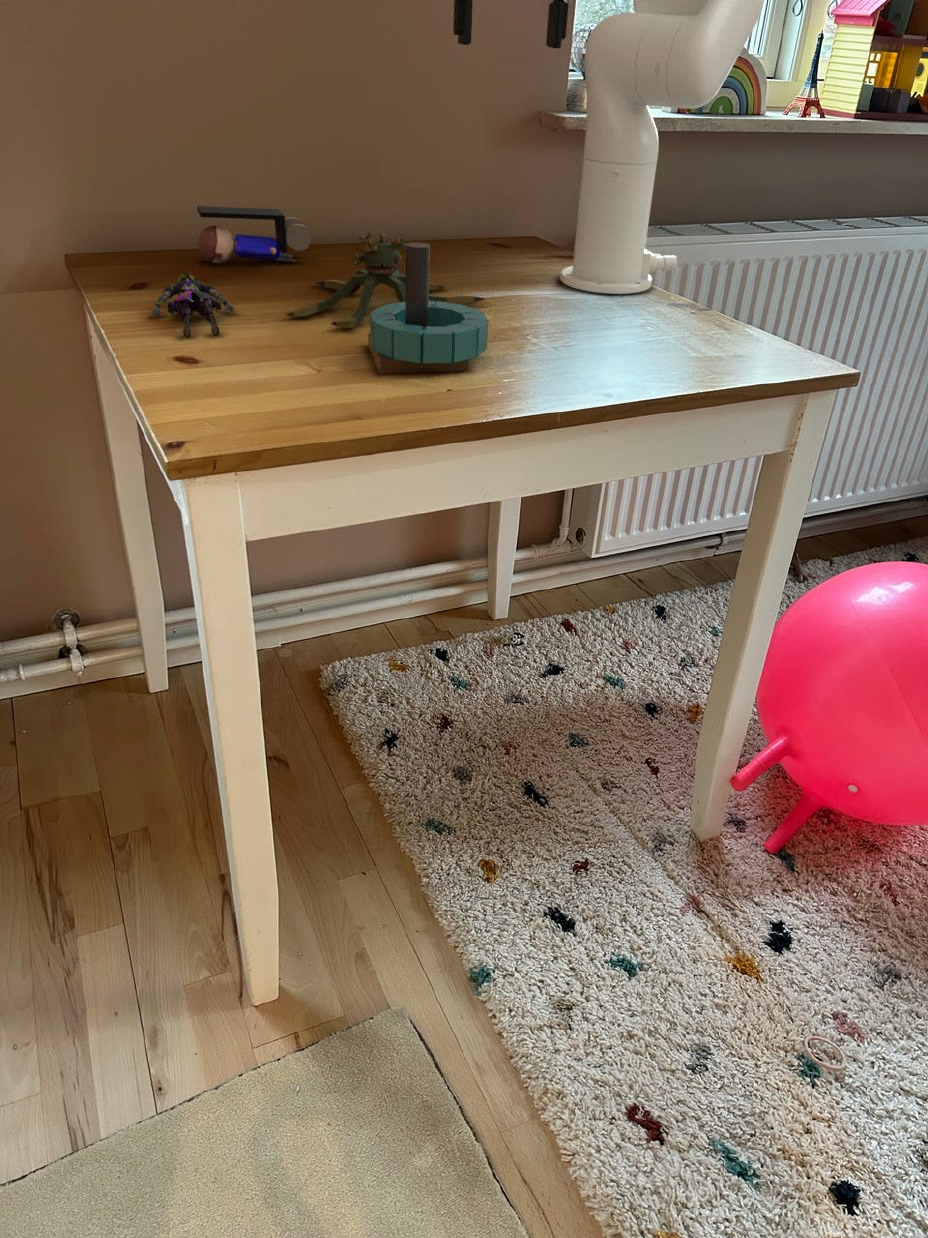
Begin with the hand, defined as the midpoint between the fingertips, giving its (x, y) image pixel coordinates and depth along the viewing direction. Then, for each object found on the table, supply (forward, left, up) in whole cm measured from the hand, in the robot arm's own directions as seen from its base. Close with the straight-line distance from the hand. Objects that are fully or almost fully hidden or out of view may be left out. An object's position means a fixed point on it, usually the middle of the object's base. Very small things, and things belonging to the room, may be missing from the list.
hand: (509, 45), depth 99 cm
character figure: (+35, -4, -28) cm, 45 cm away
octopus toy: (+12, -6, -28) cm, 32 cm away
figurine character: (+27, -31, -28) cm, 50 cm away
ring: (+11, +14, -27) cm, 32 cm away
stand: (+12, +14, -28) cm, 34 cm away
